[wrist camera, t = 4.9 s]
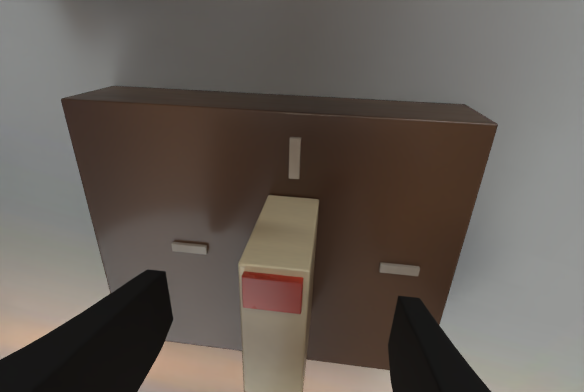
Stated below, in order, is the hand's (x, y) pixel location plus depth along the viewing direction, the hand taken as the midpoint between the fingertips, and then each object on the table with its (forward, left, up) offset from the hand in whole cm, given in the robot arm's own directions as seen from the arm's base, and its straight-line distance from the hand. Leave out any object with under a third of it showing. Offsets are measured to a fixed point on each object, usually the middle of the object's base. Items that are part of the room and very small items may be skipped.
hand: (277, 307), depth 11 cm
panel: (-1, 0, -6) cm, 6 cm away
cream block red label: (0, 0, -3) cm, 3 cm away
